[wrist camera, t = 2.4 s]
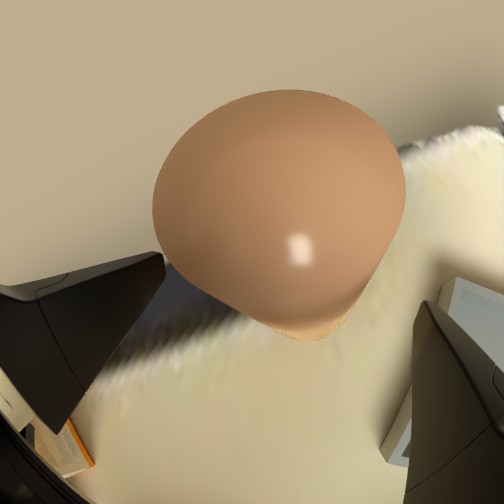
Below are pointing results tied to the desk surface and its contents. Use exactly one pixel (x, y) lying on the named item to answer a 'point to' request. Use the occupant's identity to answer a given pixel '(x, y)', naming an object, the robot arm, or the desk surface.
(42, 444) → the supplement box
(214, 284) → the tan cylinder
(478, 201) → the desk surface
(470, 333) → the bin
